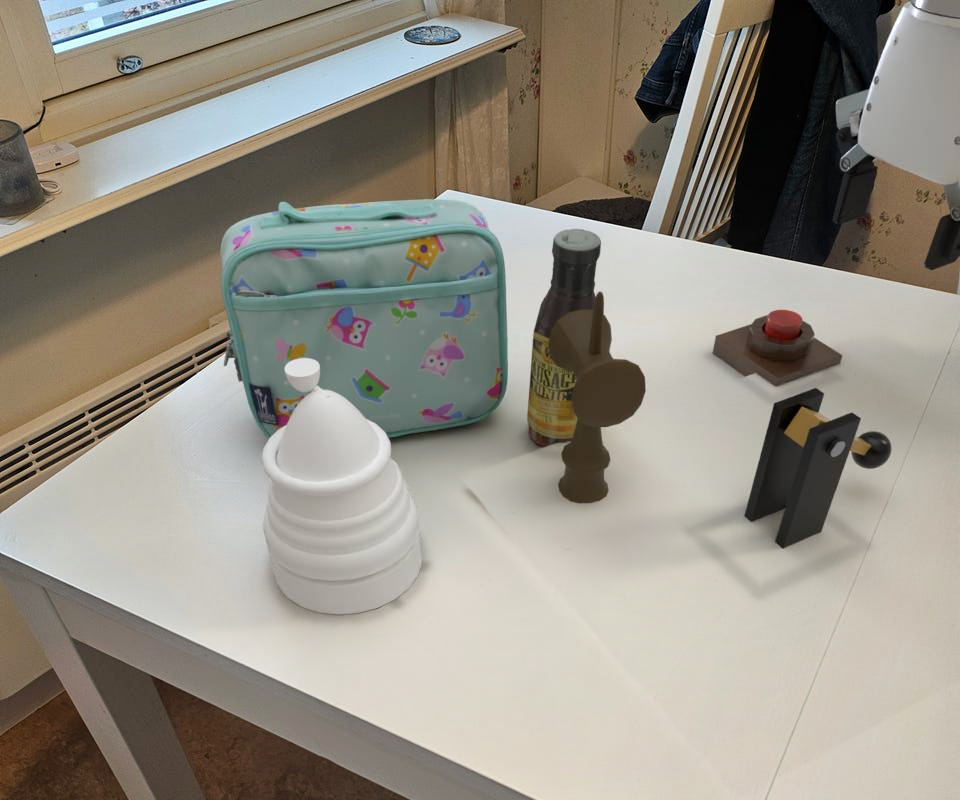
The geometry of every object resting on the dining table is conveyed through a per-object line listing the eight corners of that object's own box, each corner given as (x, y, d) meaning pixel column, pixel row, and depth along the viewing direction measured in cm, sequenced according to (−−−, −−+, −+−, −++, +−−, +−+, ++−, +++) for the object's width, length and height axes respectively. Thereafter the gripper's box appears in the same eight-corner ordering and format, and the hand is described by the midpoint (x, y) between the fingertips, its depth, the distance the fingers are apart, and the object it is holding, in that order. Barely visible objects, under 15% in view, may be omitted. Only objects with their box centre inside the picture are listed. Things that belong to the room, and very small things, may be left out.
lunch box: (246, 467, 87) (190, 248, 71) (242, 408, 94) (191, 196, 78) (513, 431, 91) (516, 214, 75) (491, 377, 98) (490, 167, 82)
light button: (782, 321, 98) (786, 306, 96) (805, 336, 95) (810, 320, 94) (756, 330, 96) (760, 314, 95) (779, 345, 94) (783, 329, 93)
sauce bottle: (514, 440, 90) (518, 241, 75) (547, 410, 93) (557, 214, 78) (571, 462, 87) (586, 261, 72) (603, 430, 91) (624, 232, 76)
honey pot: (245, 559, 78) (193, 376, 65) (361, 495, 84) (336, 314, 71) (332, 638, 72) (295, 453, 59) (452, 563, 78) (443, 378, 64)
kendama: (564, 535, 80) (579, 327, 65) (538, 471, 86) (546, 267, 71) (629, 526, 81) (658, 318, 66) (598, 462, 87) (618, 259, 72)
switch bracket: (795, 485, 84) (833, 363, 75) (866, 541, 79) (916, 416, 69) (693, 527, 80) (719, 404, 71) (760, 589, 75) (798, 464, 66)
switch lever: (855, 459, 81) (878, 427, 79) (881, 478, 79) (905, 446, 77) (776, 434, 72) (800, 398, 71) (803, 454, 70) (829, 418, 69)
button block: (774, 332, 103) (782, 299, 100) (837, 373, 97) (847, 339, 94) (712, 353, 100) (718, 320, 97) (772, 397, 94) (781, 362, 91)
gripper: (1126, 8, 57) (1012, 271, 70) (912, -43, 67) (846, 194, 80) (1049, 28, 54) (945, 297, 67) (838, -29, 65) (783, 214, 77)
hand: (892, 241), depth 73 cm, fingers open, 9 cm apart
